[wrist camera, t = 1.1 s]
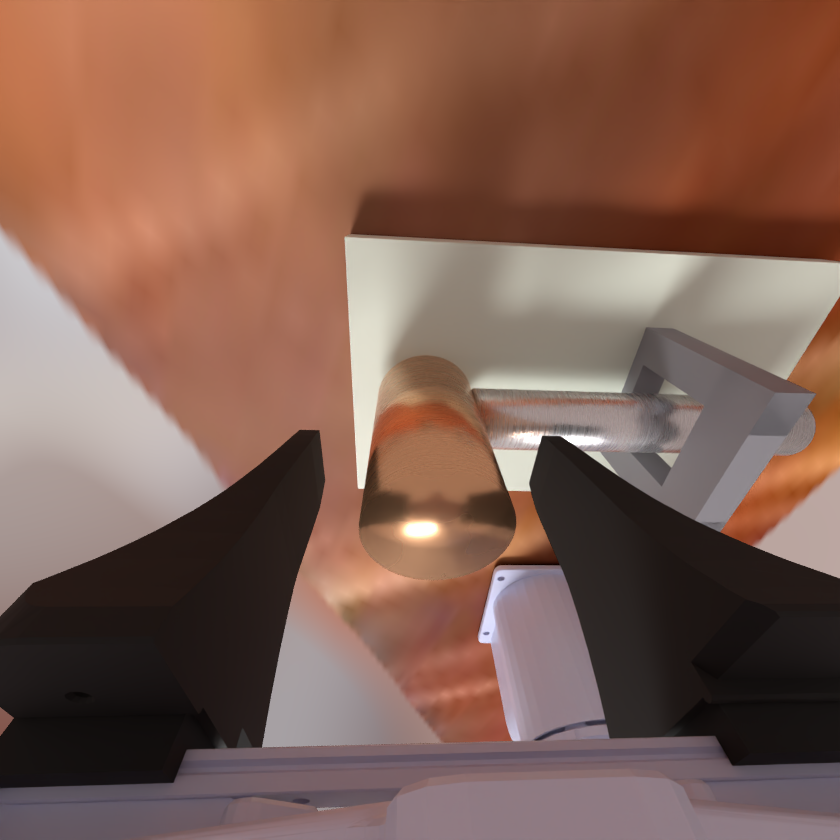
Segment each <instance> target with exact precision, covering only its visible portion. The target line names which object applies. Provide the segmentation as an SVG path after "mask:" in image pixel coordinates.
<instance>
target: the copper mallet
mask: <svg viewBox="0 0 840 840" xmlns="http://www.w3.org/2000/svg"><path fill="white" fill-rule="evenodd" d="M703 407H704V405H703V404H701V403H700V402H698V401H697V400H695V399H694V398H692V397H691V396H689V395H681V394H648V393H616V392H583V391H550V390H517V389H484V388H472V390H471V387H470V384H469V382H468V379H467V377H466V376H465V374H464V373H463V372H462V370H461V369H460V368H459V367H457V366H456V365H455V364H453V363H452V362H450V361H448V360H446V359H444V358H441V357H437V356H430V355H421V356H414V357H411V358H408V359H405V360H403V361H401V362H399V363H398V364H396V365H395V366H394V367H392V368H391V369H390V370H389V371H388V373H387V374H386V375H385V377H384V378H383V380H382V382H381V385H380V387H379V392H378V399H377V405H376V412H375V419H374V426H373V433H372V439H371V446H370V453H369V460H368V467H367V473H366V480H365V487H364V494H363V500H362V507H361V514H360V521H359V535H360V539H361V542H362V545H363V547H364V549H365V550H366V552H367V553H368V554H369V556H370V557H371V558H372V559H373V560H374V561H375V562H377V563H378V564H379V565H381V566H382V567H384V568H385V569H387V570H389V571H391V572H394V573H396V574H398V575H402V576H405V577H409V578H414V579H421V580H444V579H452V578H457V577H461V576H464V575H468V574H470V573H473V572H475V571H478V570H480V569H482V568H484V567H485V566H487V565H489V564H490V563H492V562H493V561H494V560H496V559H497V558H498V557H499V556H500V555H501V554H502V553H503V552H504V551H505V550H506V548H507V547H508V546H509V544H510V542H511V540H512V538H513V536H514V533H515V528H516V515H515V510H514V507H513V505H512V502H511V499H510V496H509V493H508V490H507V488H506V485H505V482H504V479H503V476H502V474H501V471H500V468H499V465H498V462H497V460H496V457H495V454H494V451H493V449H495V450H538V448H539V444H540V440H541V437H542V436H561V437H563V438H564V439H566V440H568V441H569V442H571V443H572V444H574V445H575V446H576V447H578V448H579V449H581V450H582V451H591V452H638V453H680V451H681V449H682V447H683V445H684V444H685V442H686V440H687V438H688V436H689V434H690V432H691V430H692V428H693V426H694V425H695V423H696V421H697V419H698V417H699V415H700V413H701V411H702V409H703ZM815 428H816V426H815V419H814V416H813V414H812V412H811V411H810V409H809V408H808V407H807V408H806V409H805V411H804V412H803V414H802V415H801V417H800V418H799V419H798V421H797V422H796V424H795V425H794V427H793V428H792V429H791V431H790V432H789V434H788V435H787V437H786V438H785V440H784V441H783V442H782V444H781V445H780V447H779V448H778V450H777V451H776V452H775V454H774V455H782V456H786V455H793V454H796V453H798V452H800V451H802V450H803V449H805V448H806V447H807V446H808V445H809V444H810V442H811V441H812V439H813V437H814V434H815Z"/></svg>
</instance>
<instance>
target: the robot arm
mask: <svg viewBox="0 0 840 840" xmlns="http://www.w3.org/2000/svg"><path fill="white" fill-rule="evenodd" d="M324 483H325V475H324V467H323V458H322V449H321V440H320V432H319V430H299V431H298V432H297V433H296V434H294V435H293V436H292V437H291V438H290V439H289V440H288V441H286V442H285V443H284V444H283V445H282V446H281V447H280V448H278V449H277V450H276V451H275V452H274V453H273V454H271V455H270V456H269V457H268V458H267V459H265V460H264V461H263V462H262V463H261V464H260V465H258V466H257V467H256V468H254V469H253V470H252V471H250V472H249V473H248V474H246V475H245V476H244V477H243V478H241V479H240V480H239V481H237V482H236V483H235V484H233V485H232V486H230V487H229V488H228V489H226V490H225V491H223V492H222V493H220V494H219V495H217V496H216V497H214V498H213V499H211V500H209V501H208V502H206V503H205V504H203V505H201V506H200V507H198V508H196V509H195V510H194V511H191V512H190V513H188V514H186V515H184V516H182V517H180V518H178V519H177V520H175V521H173V522H171V523H169V524H167V525H166V526H164V527H162V528H160V529H158V530H156V531H154V532H152V533H150V534H148V535H146V536H144V537H142V538H140V539H138V540H136V541H134V542H132V543H129V544H127V545H125V546H123V547H121V548H118V549H117V550H114V551H112V552H110V553H107V554H105V555H103V556H100V557H98V558H96V559H93V560H91V561H88V562H86V563H83V564H81V565H78V566H76V567H73V568H71V569H68V570H66V571H63V572H61V573H58V574H56V575H53V576H51V577H48V578H46V579H43V580H40V581H38V582H35V583H33V584H32V585H31V586H30V587H29V588H28V589H27V590H26V591H25V592H24V593H23V594H22V595H21V596H20V597H19V598H18V599H17V600H16V601H15V602H14V603H13V604H12V605H11V606H10V607H9V608H8V609H7V610H6V611H5V612H4V613H3V614H2V615H1V616H0V707H1V708H2V709H3V710H5V711H6V712H7V713H9V714H10V715H11V716H12V717H14V719H13V720H12V722H11V723H10V724H9V725H8V727H7V728H6V730H5V731H4V732H3V734H2V735H1V736H0V840H840V578H837V577H834V576H831V575H828V574H825V573H823V572H820V571H817V570H814V569H811V568H808V567H805V566H802V565H800V564H797V563H794V562H791V561H788V560H786V559H783V558H780V557H778V556H775V555H773V554H770V553H768V552H765V551H763V550H760V549H758V548H755V547H753V546H750V545H748V544H746V543H743V542H741V541H739V540H736V539H734V538H732V537H729V536H727V535H725V534H723V533H721V532H718V531H716V530H714V529H712V528H710V527H708V526H706V525H704V524H701V523H699V522H697V521H695V520H693V519H691V518H689V517H687V516H685V515H683V514H682V513H680V512H678V511H676V510H674V509H672V508H671V507H669V506H667V505H665V504H663V503H661V502H660V501H658V500H656V499H654V498H653V497H651V496H649V495H648V494H646V493H644V492H643V491H641V490H640V489H638V488H636V487H635V486H633V485H632V484H630V483H628V482H627V481H625V480H624V479H622V478H621V477H619V476H618V475H616V474H615V473H613V472H612V471H611V470H609V469H608V468H606V467H605V466H603V465H602V464H600V463H599V462H598V461H596V460H595V459H593V458H592V457H591V456H589V455H588V454H586V453H585V452H584V451H582V450H581V449H579V448H578V447H576V446H575V445H574V444H572V443H571V442H569V441H568V440H566V439H564V438H563V437H561V436H542V437H541V440H540V444H539V448H538V452H537V455H536V459H535V463H534V466H533V470H532V474H531V477H530V481H529V486H530V490H531V494H532V498H533V501H534V505H535V508H536V511H537V513H538V516H539V518H540V521H541V523H542V525H543V528H544V530H545V532H546V534H547V537H548V539H549V541H550V544H551V546H552V548H553V550H554V553H555V555H556V557H557V559H558V562H559V564H560V565H500V566H497V567H496V568H495V569H494V572H493V576H492V580H491V584H490V589H489V593H488V597H487V601H486V605H485V609H484V613H483V617H482V621H481V625H480V629H479V633H478V640H479V642H481V643H491V647H492V652H493V657H494V662H495V667H496V672H497V678H498V683H499V688H500V693H501V698H502V703H503V709H504V714H505V719H506V723H507V727H508V730H509V733H510V736H511V738H512V740H513V741H498V742H459V743H422V744H421V743H420V744H384V745H383V744H381V745H342V746H305V747H304V746H303V747H264V748H262V744H263V738H264V732H265V727H266V721H267V715H268V710H269V704H270V699H271V693H272V687H273V683H274V678H275V673H276V667H277V662H278V657H279V652H280V647H281V643H282V638H283V633H284V629H285V624H286V619H287V615H288V610H289V606H290V602H291V597H292V593H293V589H294V585H295V581H296V578H297V574H298V571H299V568H300V565H301V562H302V559H303V556H304V553H305V550H306V547H307V544H308V541H309V538H310V536H311V533H312V530H313V527H314V524H315V521H316V518H317V515H318V511H319V508H320V504H321V499H322V494H323V489H324ZM322 807H323V808H324V807H344V808H338V809H331V810H324V811H318V810H317V808H322Z"/></svg>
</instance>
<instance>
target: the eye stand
mask: <svg viewBox="0 0 840 840" xmlns="http://www.w3.org/2000/svg"><path fill="white" fill-rule="evenodd" d="M345 253H346V272H347V290H348V309H349V328H350V347H351V366H352V385H353V404H354V423H355V442H356V461H357V480H358V489H364V487H365V480H366V473H367V467H368V460H369V453H370V446H371V439H372V433H373V426H374V419H375V412H376V405H377V399H378V392H379V387H380V385H381V382H382V380H383V378H384V377H385V375H386V374H387V373H388V371H389V370H390V369H391V368H392V367H394V366H395V365H396V364H398V363H399V362H401V361H403V360H405V359H408V358H411V357H414V356H421V355H430V356H437V357H441V358H444V359H446V360H448V361H450V362H452V363H453V364H455V365H456V366H457V367H459V368H460V369H461V370H462V372H463V373H464V374H465V376H466V377H467V379H468V382H469V384H470V387H471V390H472V388H484V389H517V390H550V391H583V392H616V393H648V394H681V395H689V396H691V397H692V398H694V399H695V400H697V401H698V402H700V403H701V404H703V405H704V407H703V409H702V411H701V413H700V415H699V417H698V419H697V421H696V423H695V425H694V426H693V428H692V430H691V432H690V434H689V436H688V438H687V440H686V442H685V444H684V445H683V447H682V449H681V451H680V453H638V452H591V451H584V452H585V453H586V454H588V455H589V456H591V457H592V458H593V459H595V460H596V461H598V462H599V463H600V464H602V465H603V466H605V467H606V468H608V469H609V470H611V471H612V472H613V473H615V474H616V475H618V476H619V477H621V478H622V479H624V480H625V481H627V482H628V483H630V484H632V485H633V486H635V487H636V488H638V489H640V490H641V491H643V492H644V493H646V494H648V495H649V496H651V497H653V498H654V499H656V500H658V501H660V502H661V503H663V504H665V505H667V506H669V507H671V508H672V509H674V510H676V511H678V512H680V513H682V514H683V515H685V516H687V517H689V518H691V519H693V520H695V521H697V522H699V523H701V524H704V525H706V526H708V527H710V528H712V529H714V530H716V531H718V532H720V531H721V530H722V528H723V527H724V526H725V524H726V523H727V521H728V520H729V518H730V517H731V515H732V514H733V513H734V511H735V510H736V508H737V507H738V505H739V504H740V503H741V501H742V500H743V498H744V497H745V495H746V494H747V493H748V491H749V490H750V488H751V487H752V485H753V484H754V483H755V481H756V480H757V478H758V477H759V475H760V474H761V472H762V471H763V470H764V468H765V467H766V465H767V464H768V462H769V461H770V460H771V458H772V457H773V455H774V454H775V452H776V451H777V450H778V448H779V447H780V445H781V444H782V442H783V441H784V440H785V438H786V437H787V435H788V434H789V432H790V431H791V429H792V428H793V427H794V425H795V424H796V422H797V421H798V419H799V418H800V417H801V415H802V414H803V412H804V411H805V409H806V408H807V407H808V405H809V404H810V402H811V401H812V399H813V398H814V397H815V395H816V393H813V392H811V391H809V390H807V389H805V388H802V387H800V386H798V385H796V384H794V383H792V382H789V381H787V378H788V377H789V375H790V374H791V372H792V371H793V369H794V367H795V366H796V364H797V363H798V361H799V360H800V358H801V356H802V355H803V353H804V352H805V350H806V348H807V347H808V345H809V344H810V342H811V341H812V339H813V337H814V336H815V334H816V333H817V331H818V330H819V328H820V326H821V325H822V323H823V322H824V320H825V319H826V317H827V315H828V314H829V312H830V311H831V309H832V308H833V306H834V304H835V303H836V301H837V300H838V298H839V297H840V262H839V261H831V260H823V259H807V258H788V257H770V256H751V255H732V254H714V253H695V252H676V251H657V250H639V249H620V248H601V247H583V246H564V245H545V244H526V243H508V242H489V241H470V240H452V239H433V238H414V237H395V236H377V235H358V234H349V235H347V236H346V237H345ZM493 451H494V454H495V457H496V460H497V462H498V465H499V468H500V471H501V474H502V476H503V479H504V482H505V485H506V488H507V490H508V491H531V490H530V486H529V481H530V477H531V474H532V470H533V466H534V463H535V459H536V455H537V452H538V450H495V449H493Z"/></svg>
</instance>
